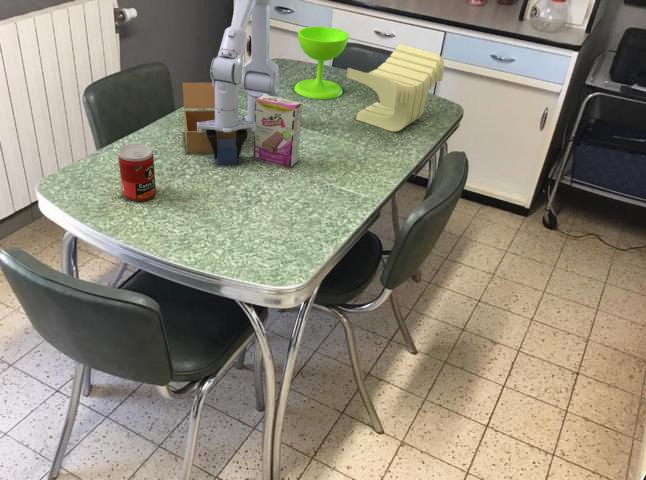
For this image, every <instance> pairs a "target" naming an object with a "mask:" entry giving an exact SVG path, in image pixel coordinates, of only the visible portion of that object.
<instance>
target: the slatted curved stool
mask: <svg viewBox="0 0 646 480" xmlns="http://www.w3.org/2000/svg"><path fill="white" fill-rule="evenodd" d="M444 71H445V61H444V59H443V57H442V56H441V55H439V54H438V53H435V52H431V51H428V50H425V49H420V48H416V47H413V46H408V45H406V44H402V43H399V44H397V46H396V48H395V50H393V51H392V53H391V54H390V56H389V57H387V59H385V62H383V63H382V64H381V65H379V66H378V67H377V69H376V68H375V69H373V70H371V71H369V72H364V71H361V70H359V69H354V68H351V67H347V70H346V78H347V79H350V80H352V81H356V82H358V83H361V84H362V85H365V86H367V87H369V88H371V89H372V90H373V91H374V92H375V93H376V94H377V96H378V98H379V102H377V101H376V102H374V103H373V104H371V105H369V106H367V107H365V108H364V109H362V110H360V111H358V112H357V115H356V118H355V120H357V121H360V122H363V123H365V124H368V125H371V126H375V127H377V128H380V129H382V130H383V129H384V130H387V131H390V132H394V133H395V132H399V131H401V130H403V129H404V128H405V127H407V126H409V125H411V124H412V123H413V122H415V121H416V120H418V119H420V118H421V117H422V116H423V114H424V109H425V105H426V102H427V99H428V96H429V94H430V93H429V92H430V90H432V89H433V87H434V85H435V84H437V83H439V82H442V81H443V77H444Z"/></svg>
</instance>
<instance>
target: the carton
mask: <svg viewBox="0 0 646 480" xmlns="http://www.w3.org/2000/svg"><path fill="white" fill-rule="evenodd" d="M183 120H184V121H183V122H184V139H185V147H186V154H214V152H213V148H212V146H211V144H210V142H209V140H208V138H207V134H206V131H202V132H198V131H197V122H205V121H211V120H215V109H207V110H205V109H204V110H200V109H199V110H198V109H197V110H183ZM216 135H217V139H235V140H236V131H232V132H224V131H216Z"/></svg>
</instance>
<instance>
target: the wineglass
mask: <svg viewBox="0 0 646 480" xmlns="http://www.w3.org/2000/svg"><path fill="white" fill-rule="evenodd" d="M349 37H350V35H349V33H348V32H346V31H344V30H342V29H340V28H339V29H338V28H334V27H330V26H329V27H328V26H308V27H303V28H300V29H299V30H298V32H297V39H298V40H297V41H298V43H299V46H300V48H301V50H302V52H303V53H304V54H305V55H306V56H308V57H309V58H310V59H312V60H315V61H317V67H316V78H307V79H303V80H300V81H298V82H297V83H296V84H295V85H294V87H293V89H294V92H295V93H296V94H297V95H299V96H302V97H305V98H308V99H311V100H312V99H314V100H331V99H336V98H338V97H340V96H342V94H343V93H344V92H343V89H342V87H341V86H340V85H339V84H338V83H336V82H334V81H331V80H327V79H323V76H324V65H325V62H326V61H332V60H333V59H336V58H337V57H338V56H340V54H342V53H343V52H344V50H345V49H346V46H347V44H348V42H349Z"/></svg>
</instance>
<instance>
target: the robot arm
mask: <svg viewBox="0 0 646 480" xmlns="http://www.w3.org/2000/svg"><path fill="white" fill-rule="evenodd" d="M271 1H272V0H235V4H234V9H233V13H232V14H233V15H232V19H231V23H230V26H228V27H227V28H225V30H224V32H223V35H222V38H221V44H220V47H219V50H218V53H217V56H216V57H213V59H212V60H211V64H210V69H209V75H210V79H211V83H212V86H213V88H215V108H214V110H215V120H211V121H205V122H197V131H198V132H202V131H206V134H207V138H208V140H209V142H210V144H211V146H212V148H213V152H214V153H213V157H214V159H215V160H217V135H216V131H224V132H232V131H236V144H237V159H239V158H240V154H241V150H242V148H243V146H244V144H245V142H246V140H247V138H248V131H250V132H254V131H255V127H256V124H255V100H256V99H257V98H258V97H259V96H261V95H262V94H267V95H271V96H276V97H280V98H281V94H280V92H278V91H279V89H280V84H281V75H280V68H279V65H278V64H277V63H276V62H275V61H273V59H271V58H270V39H271V38H270V37H271V36H270V33H271V31H270V30H271V29H270V28H271V25H270V24H271ZM250 20H251V58H250V59H248V60H247V61H246V62H245V63H244V59H243V58H244V54H245V50H246V46H247V43H248V39H249V36H248V34H247V32H246V29H247V27H248V25H249V22H250ZM240 81H241V87H242V88H243V89H242V90H244V91H245V94H246V95H247V111H246V112H247V113H246V115H244V120H243V119H239V83H240Z"/></svg>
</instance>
